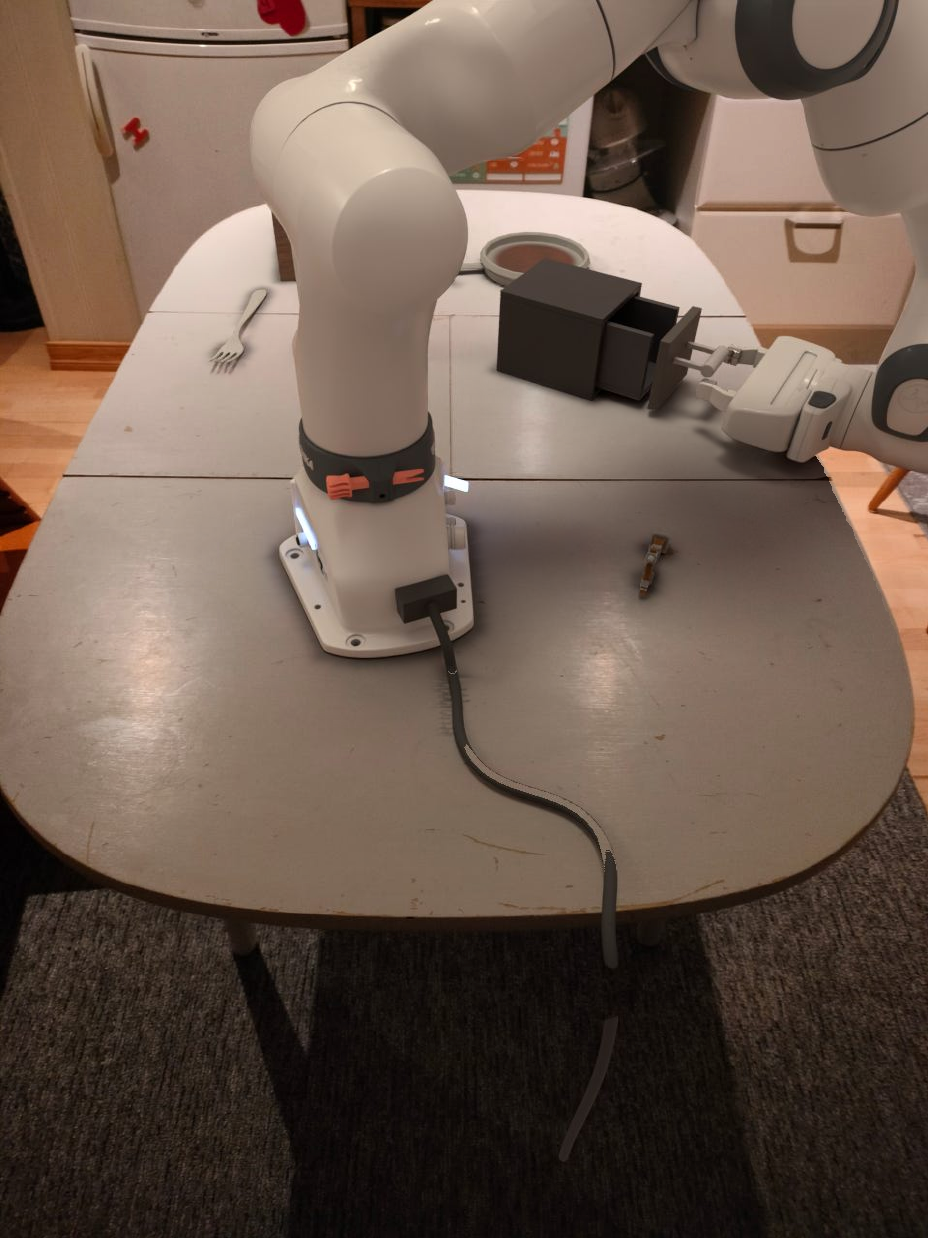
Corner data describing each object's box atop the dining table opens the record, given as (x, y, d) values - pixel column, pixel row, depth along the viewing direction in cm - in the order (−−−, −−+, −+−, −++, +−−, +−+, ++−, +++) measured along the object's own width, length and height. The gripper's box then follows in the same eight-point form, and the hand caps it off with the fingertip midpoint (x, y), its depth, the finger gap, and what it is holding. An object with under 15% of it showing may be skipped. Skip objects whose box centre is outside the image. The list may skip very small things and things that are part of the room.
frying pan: (403, 236, 133) (576, 226, 136) (404, 255, 136) (575, 245, 138) (413, 283, 122) (603, 271, 124) (414, 302, 124) (601, 290, 126)
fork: (273, 290, 124) (271, 278, 123) (232, 374, 107) (230, 361, 106) (251, 289, 124) (249, 277, 123) (207, 373, 108) (205, 360, 106)
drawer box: (628, 361, 112) (642, 282, 104) (591, 400, 105) (603, 319, 97) (537, 334, 116) (544, 257, 109) (496, 370, 109) (500, 290, 102)
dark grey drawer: (724, 385, 106) (742, 318, 100) (695, 424, 100) (712, 355, 94) (597, 348, 112) (607, 283, 106) (562, 382, 106) (570, 315, 100)
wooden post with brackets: (630, 594, 79) (642, 548, 77) (642, 571, 86) (653, 529, 84) (649, 599, 79) (662, 553, 77) (659, 576, 86) (671, 533, 84)
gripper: (861, 340, 99) (746, 310, 104) (815, 420, 87) (687, 382, 92) (843, 388, 104) (734, 357, 109) (796, 470, 91) (676, 432, 96)
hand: (712, 369), depth 100 cm, fingers open, 8 cm apart
